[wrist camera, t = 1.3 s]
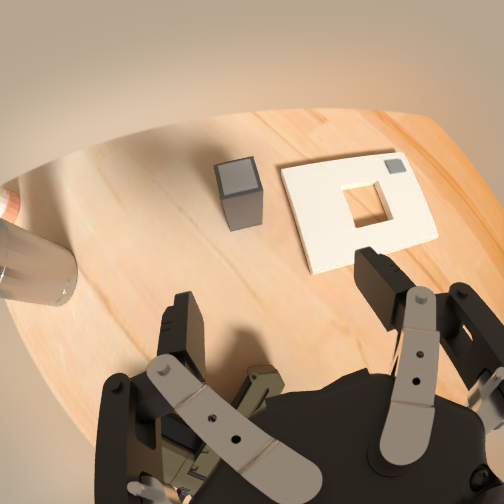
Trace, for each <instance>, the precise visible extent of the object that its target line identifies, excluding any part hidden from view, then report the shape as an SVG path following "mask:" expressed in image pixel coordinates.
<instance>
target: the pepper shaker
mask: <svg viewBox="0 0 504 504" xmlns="http://www.w3.org/2000/svg"><path fill="white" fill-rule="evenodd" d="M19 208H20V198H19V196H18V195H16V194H15V193H13V192H12V191H10V190H9V189H3V188H2V187H0V218H2V219H4V220H6V221H8V222H10V223H12V224H13V223H14V221H15V219H16V218H17V215H18V212H19Z"/></svg>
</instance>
